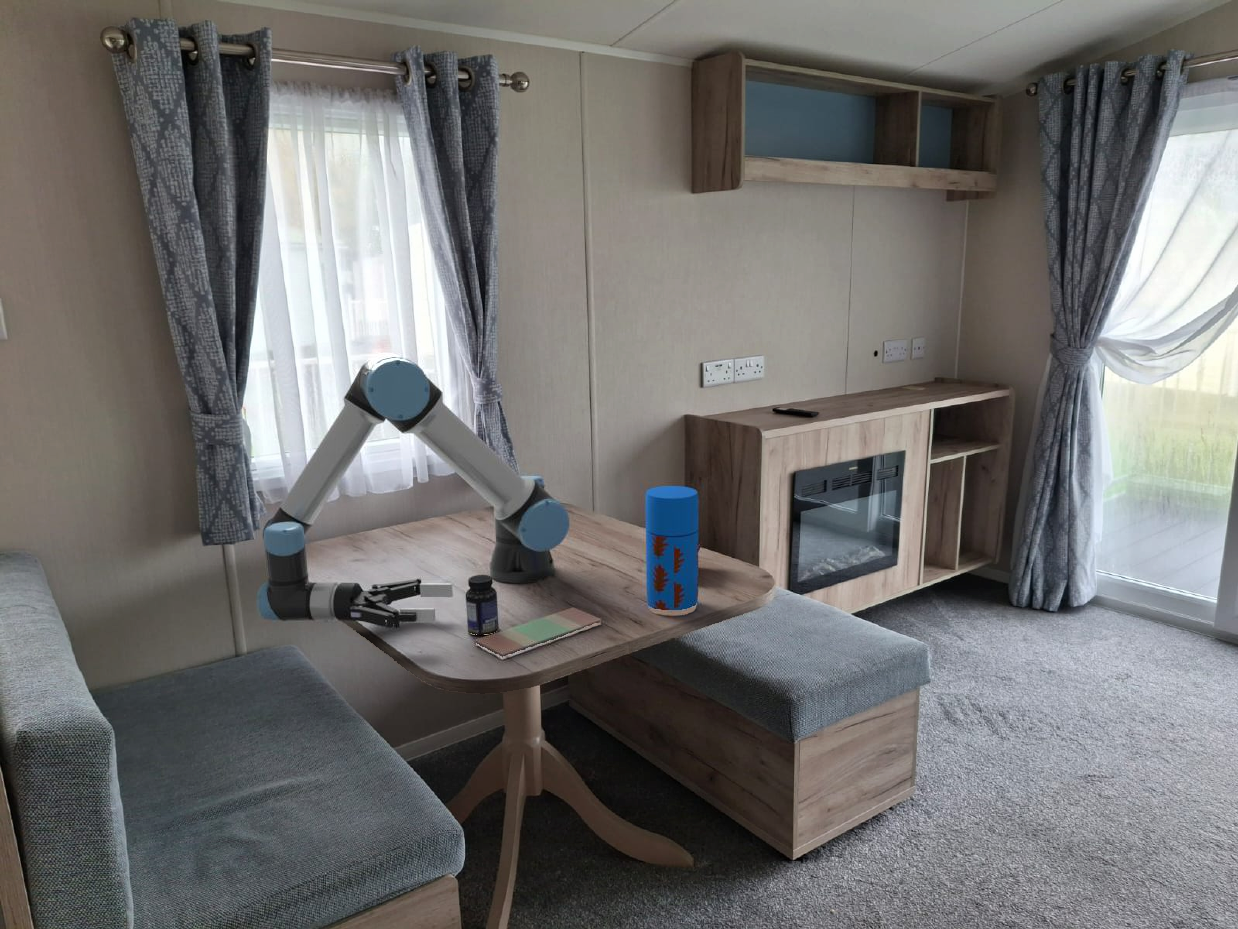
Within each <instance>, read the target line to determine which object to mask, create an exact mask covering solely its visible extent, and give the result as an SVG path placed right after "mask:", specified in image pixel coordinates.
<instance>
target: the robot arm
mask: <svg viewBox="0 0 1238 929" xmlns="http://www.w3.org/2000/svg"><path fill="white" fill-rule="evenodd" d="M443 400H444V393H443V391H442V390H441V389H440V388H439V387H437V385H436V384H435V383H433V381H431V379H430V378H428V376H427V375H426V374H425V372H424V371H423V369H422V368H421V367H420V366H419V365H418V364H417V363H415V362H414V361H411V360H410V359H409V358H404V357H402V356H400V355H398V354H396V353H395V354H394V353H391V352H390V353H389V352H388V353H387V352H383V353H378V354H375V355H373V356H371V357H369V358H368V359H367V360H365V362H364V363H363V365H361V367H360V368H359V370H358V373H357V374H356V377H355V378H354V380H353V382H352V383H351V385H350V387H349V389H348V390H347V392H346V393H345V395H344V397H343V403H344V406H343V407H342V409H341V410H340V412H339V414H338V415H337V417H336V419H335V420H334V421H333V423H332V425H331V426H330V428H329V430H328V431H327V432H326V434H325V435H324V437H323V439H322V440H321V442H320V443H319V445H318V447H317V448H316V449H315V451H314V453H313V454H312V455H311V457H310V459H309V460H308V462H307V464H306V465H305V467H304V469H303V470H302V471H301V473H300V475H299V476H298V477H297V479H296V480H295V482H294V484H293V485H292V488H290V490H289V492H288V493H287V495H286V496H285V498H284V500H283V501H282V503H281V504H280V506H279V508H278V510H277V511H276V512H275V513H274V515H273V516H271V517H270V518H268V519H267V521H266V522H265V524H264V526H263V529H262V540H263V547H264V552H265V560H266V568H267V576H268V581H267V582H264V583H262V585H260V587H259V589H258V592H257V599H256V609H257V611H258V614H259V616H261V617H262V618H263V619H264V620H270V621H271V620H272V621H273V620H274V621H281V622H288V621H323V622H324V623H328V622H329V621H337V620H338V621H340V622H363V623H367V624H372V625H376V626H380V627H383V628H387V629H391V628H392V629H393V628H394V629H398V628H400V627H401V624H400V623H406V624H407V623H408V624H411V623H412V624H413V623H414V624H435V623H436V608H435V607H400V608H399V609H397V608H394V607H392V606H390V605H392V602H396V601H401V600H404V599H407V598H408V599H409V598H412V597H417V596H420V597H421V598H453V596H454V595H453V583H452V582H451V583H442V582H440V583H439V582H437V583H435V582H424V583H423V582H422V579H421V578H416V579H410V580H402V581H395V582H387V583H374V584H372V585H371V589H368V590H363V588H362V586H361V585H360V584H359V583H358V582H340V583H338V582H335V581H334V582H333V581H330V582H329V581H327V582H322V581H321V582H318V581H317V582H311V581H310V580H309V571H308V556H307V555H308V554H307V546H306V544H307V538H306V536H307V534H308V532H309V531H310V529H311V527H312V526H313V524H314V522H315V521H316V520H317V518H318V516H319V514H320V513H321V511H322V510H323V508H324V507H325V505H326V503H327V502H328V500H329V499H330V498H331V496H332V494H333V492H334V491H335V489H336V488H337V486H338V485H339V484H340V482H341V481H342V478H343V477H344V476H345V474H346V472H347V471H348V470H349V468H350V467H351V465H352V463H353V462H354V460H355V458H356V457H357V456H358V454H359V452H360V450H361V449H362V447H363V446H364V444H365V443H366V441H367V440H368V438H369V437H370V435H371V434H372V433H373V431H374V429H375V427H376V426H377V425H380V424H384V422H385V421H386V420H387V421H388V422H389V423H390V424H391V425H392V426H394V427H395V429H397V430H398V431H399V432H400V433H402V434H405V435H406V434H414V436H415V437H417V438H418V439H419V440H420V441H421V442H422V443H423V444H425V445H426V446H427V447H428V448H429V449H430V450H431V451H432V452H433V453H435V455H436V456H438V457H439V458H440V459H441V460H442V461H443V462H444V463H445V464H446V465H448V466H449V468H451V469H452V470H453V471H454V472H455V473H456V474H457V475H458V476H460V478H461V479H463V480H464V481H465V482H466V483H467V484H468V485H469V486H470V487H471V488H472V489H473V490H475V492H476V493H478V494H479V495H480V496H481V497H482V498H484V499H485V500H486V501H487V502H488V503H489V504H490V505H491V506H492V507H493V516H494V531H495V545H494V548H493V551H492V552H493V553H492V556H491V559H490V560H491V561H490V563H489V576H491V577H492V580H493V579H494V580H495V581H498V582H502V583H509V584H526V583H525V582H527V583H534V582H539V581H542V580H545V579H548V578H549V577H552V575H553V574H554V573H555V561H554V559H553V556H552V553H551V550H553V549H555V548H556V547H558V546H559V545H560V544H561V543H563V541H564V540H565V538H566V537H567V534H568V533H569V529H570V521H571V520H570V515H569V512H568V510H567V509H566V507H565V506H564V504H563V503H561V501H558V500H557V499H555V498H554V497H553V496H552V495H550V493H548V492H547V491H546V490H545V486H546V485H545V483H544V479H543V478H542V477H541V476H539V475H537V476H536V475H519V473H518V472H516V471H515V469H513V468H512V467H511V466H510V465H509V464H508V463H507V462H506V461H505V460H504V459H503V458H502V457H500V456H499V455H498V454H497V453H496V452H495V451H494V450H493V449H492V448H491V447H490V446H489V445H488V444H487V443H486V442H485V441H484V440H483V439H481V438H480V437H479V435H477V434H476V433H475V432H474V430H472V429H471V428H470V426H468V425H467V424H466V423H465V422H464V421H463V420H462V419H460V417H458V416H457V414H455V413H454V412H453V411H452V410H451V409H450V408H449V407H448V406H447V405H445V403H444V401H443Z"/></svg>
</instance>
